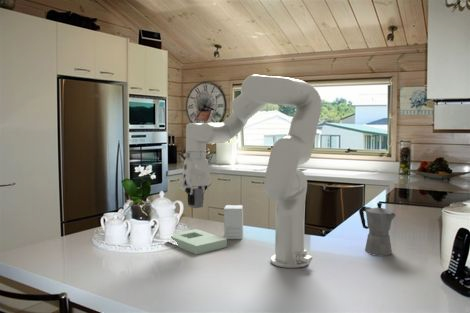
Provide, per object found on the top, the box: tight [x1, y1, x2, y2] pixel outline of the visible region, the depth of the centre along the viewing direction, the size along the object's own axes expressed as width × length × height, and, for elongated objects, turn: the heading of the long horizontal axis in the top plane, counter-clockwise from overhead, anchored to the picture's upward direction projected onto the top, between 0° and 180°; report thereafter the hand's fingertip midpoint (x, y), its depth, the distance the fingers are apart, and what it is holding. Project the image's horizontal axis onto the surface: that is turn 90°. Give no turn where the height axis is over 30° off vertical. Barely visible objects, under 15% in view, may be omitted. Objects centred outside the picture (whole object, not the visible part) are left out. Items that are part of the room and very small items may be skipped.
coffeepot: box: [358, 202, 397, 256], centre depth 149 cm, size 15×9×18 cm, turn 34°
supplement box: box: [223, 204, 244, 240], centre depth 169 cm, size 7×7×13 cm
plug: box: [187, 186, 204, 209], centre depth 157 cm, size 4×4×7 cm
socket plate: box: [171, 228, 228, 255], centre depth 158 cm, size 20×14×3 cm
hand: (195, 203), depth 157 cm, fingers closed on plug, 3 cm apart
